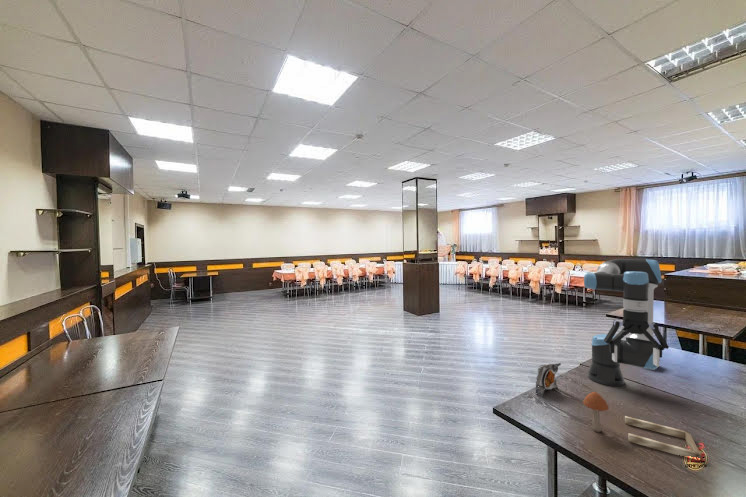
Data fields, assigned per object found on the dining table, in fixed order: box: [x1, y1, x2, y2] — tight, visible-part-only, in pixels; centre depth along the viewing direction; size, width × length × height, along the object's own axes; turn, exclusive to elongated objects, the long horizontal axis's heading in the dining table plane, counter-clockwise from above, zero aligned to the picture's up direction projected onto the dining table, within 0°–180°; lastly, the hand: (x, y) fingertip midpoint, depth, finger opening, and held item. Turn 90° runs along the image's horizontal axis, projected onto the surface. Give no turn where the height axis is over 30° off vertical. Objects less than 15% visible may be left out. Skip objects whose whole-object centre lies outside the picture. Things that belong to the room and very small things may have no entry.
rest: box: [624, 415, 702, 459], centre depth 109 cm, size 18×14×3 cm
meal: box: [535, 363, 562, 398], centre depth 146 cm, size 15×4×13 cm, turn 122°
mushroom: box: [582, 391, 610, 433], centre depth 116 cm, size 8×8×15 cm
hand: (634, 363), depth 121 cm, fingers open, 13 cm apart
